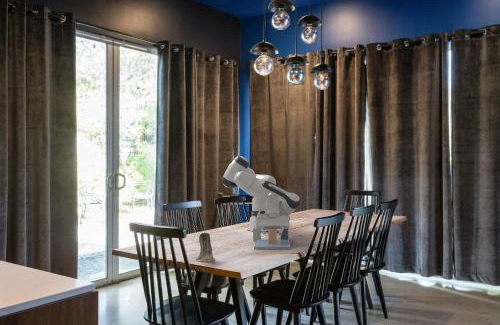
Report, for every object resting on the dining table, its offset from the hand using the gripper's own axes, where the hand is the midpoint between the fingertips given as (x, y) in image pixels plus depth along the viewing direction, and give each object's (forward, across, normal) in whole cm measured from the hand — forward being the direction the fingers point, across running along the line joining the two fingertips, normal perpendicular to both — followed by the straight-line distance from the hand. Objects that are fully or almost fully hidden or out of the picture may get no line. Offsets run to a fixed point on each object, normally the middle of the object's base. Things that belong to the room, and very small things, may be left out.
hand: (272, 234), depth 255 cm
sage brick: (-6, +10, -16) cm, 20 cm away
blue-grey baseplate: (+4, 0, -5) cm, 7 cm away
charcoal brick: (-6, -7, -16) cm, 18 cm away
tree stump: (+29, +33, +19) cm, 48 cm away
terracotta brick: (+3, 0, -4) cm, 5 cm away
